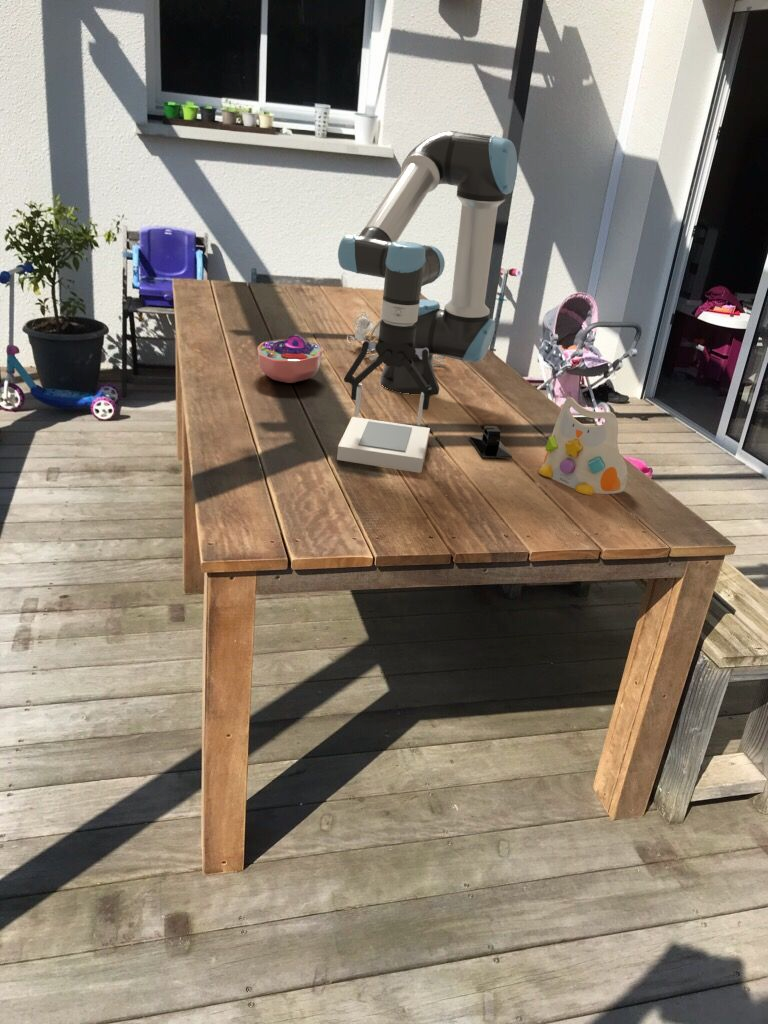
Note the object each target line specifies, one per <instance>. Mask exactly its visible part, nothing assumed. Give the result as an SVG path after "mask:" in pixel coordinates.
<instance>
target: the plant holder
mask: <svg viewBox="0 0 768 1024" xmlns="http://www.w3.org/2000/svg"><path fill="white" fill-rule="evenodd" d="M360 313H362V314H361V315H360V316H359V314H360ZM354 314H355V315H354V316H355V317H354V318H355V319H354V321H353V327H355V328H353V331H354V336H351V335H346V341H347V343H349V344H351V342H350V341H349V340H351V341H352V340H354V341H355V340H357V341H358V342H359V343H360V342H363V341H365V339H369V340H370V341H371V340H372V337H373V335H374V338H373V340H372V341H371V342H375V343H376V341H377V340H379V330H380V322H381V321H382V320H383V319H382V318H381V317H380V318H379V319H377V321H376V323H375V324H374V323H373V321H371V317H370V315H369V314H368V312H367V311H366V310H364V309H362V311H359V312H355V313H354ZM357 325H358V326H357ZM367 334H368V335H367ZM374 351H376V349H372V350H371V352H367V354H368V355H365V357H364V359H368V358H369V360H370V361H374V360H375V359H376V358H377V357H378V356H379V355H378V353H373V354H372V352H374ZM444 359H446V357H445V356H441V355H436V354H433V358H432V363H433V368H434V367H435V366H440V367H445V366H446V360H445V361H444V362H443V364H442V362H440V361H441V360H444Z"/></svg>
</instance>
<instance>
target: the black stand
mask: <svg viewBox="0 0 768 1024" xmlns="http://www.w3.org/2000/svg"><path fill="white" fill-rule="evenodd" d="M501 433H502V432H501V430H500V428H499V427H498V426H496V425H484V428H483V431H482V435H481V436H480V435H479V436H478V435H477V436H476V435H474V436H473V435H469V436H468V439H469V440H470V441H471V442H472V443H471V444H472V445H473V446H474V447H475V449H476V450H477V452H478V453H479V455H480V456H481V457H482V458H501V459H502V458H506V459H507V458H508V459H510V458H513V455H512V454H511V452H510V451H509V450H508V449H507V447H505V445H504V444H503V442H502V441H501Z"/></svg>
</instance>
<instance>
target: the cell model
mask: <svg viewBox="0 0 768 1024" xmlns="http://www.w3.org/2000/svg"><path fill="white" fill-rule="evenodd" d="M323 352H324V348H323V346H321V345H319V344H317V343H314V342H308V341H306V340H305V338H304V337H303V336H302V335H299V334H292V335H290V336H288V337H287V339H285V338H283V339H282V338H279V339H273V340H267V341H263V342H261V343H260V344H259V345H258V346H257V357H258V366H259V369H260V370H261V372H263V373H264V374H265V376H267V377H269V378H270V379H271V380H273V381H276V382H282V383H285V384H286V383H287V384H295V383H297V382H298V383H299V382H302V381H305V380H309V379H311V378H312V377H314V375H315V374H316V373H318V371H319V369H320V365H321V361H322V357H323Z"/></svg>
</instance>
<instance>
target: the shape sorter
mask: <svg viewBox="0 0 768 1024" xmlns="http://www.w3.org/2000/svg"><path fill="white" fill-rule="evenodd" d="M571 408H572V409H573V410H574V411H575V412H576V413H578V414H580V415H582V417H583V416H584V417H586V418H590V419H595V420H596V419H598V420H599V419H603V420H604V421H605V423H602V424H599V425H587V424H584V423H581V422H580V421H578V420H577V419H576V418H575V417H574V416H573V413H572V412H571ZM552 430H553V431H552V432H551V433H552V434H551V435H550V436H548V438H547V442H546V445H545V451H546V452H545V457H544V461H543V462H542V463H543V464H542V467H541V468H540V469H539V470H538V473H539V474H540V475H541V476H543V477H545V478H546V477H547V478H550V479H551V480H553V481H556V482H558V483H561V484H563V485H565V486H567V487H569V488H572V489H574V491H576V492H577V493H578V494H579V493H580V494H582V495H586V496H592V495H594V494H599V495H600V494H602V495H603V494H605V495H606V494H607V495H608V494H618V493H619V494H620V493H623V492H624V490H625V488H626V485H627V480H628V466H627V463H626V462H625V460H624V458H623V457H622V456H621V453H620V450H619V446H618V442H619V441H618V437H619V422H618V418H617V416H616V415H615V414H614V413H613V412H611V411H593V410H591V409H587V408H585V407H583V406H582V405H580V403H578V402H577V401H576V400H575V399H574V398H573V397H571V396H568V397H567V398H566V399H565V400H564V402H563V404H562V407H561V409H560V412H559V414H558V417H557V419H556V422H555V425H554V427H553V429H552Z"/></svg>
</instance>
